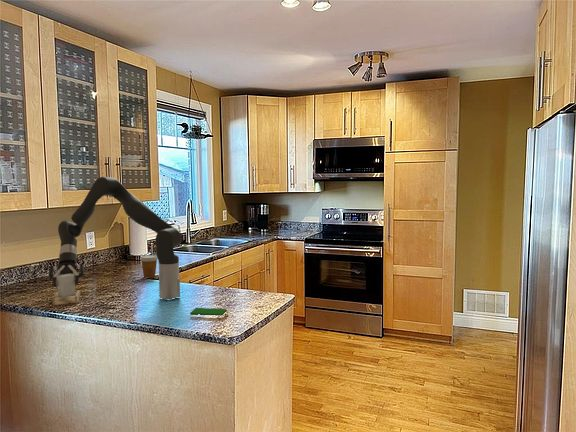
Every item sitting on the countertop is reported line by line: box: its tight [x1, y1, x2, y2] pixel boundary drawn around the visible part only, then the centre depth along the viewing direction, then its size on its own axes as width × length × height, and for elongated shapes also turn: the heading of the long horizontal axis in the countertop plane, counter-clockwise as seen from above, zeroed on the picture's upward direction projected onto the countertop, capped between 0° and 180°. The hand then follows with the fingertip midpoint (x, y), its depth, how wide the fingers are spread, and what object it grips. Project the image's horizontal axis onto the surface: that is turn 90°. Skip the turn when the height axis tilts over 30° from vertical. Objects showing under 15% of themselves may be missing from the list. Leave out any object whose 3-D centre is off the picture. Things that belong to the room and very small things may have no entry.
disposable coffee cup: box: [139, 254, 158, 279], centre depth 236 cm, size 10×10×12 cm
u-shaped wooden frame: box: [51, 289, 81, 306], centre depth 191 cm, size 10×11×3 cm
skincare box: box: [56, 273, 76, 297], centre depth 191 cm, size 6×4×12 cm
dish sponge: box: [189, 307, 228, 315], centre depth 172 cm, size 7×14×2 cm, turn 83°
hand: (65, 284), depth 189 cm, fingers open, 8 cm apart
